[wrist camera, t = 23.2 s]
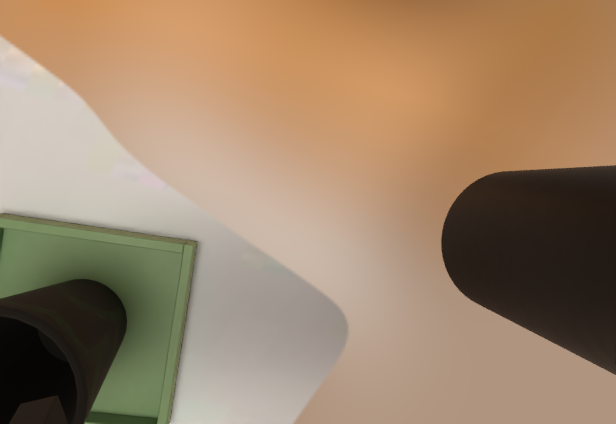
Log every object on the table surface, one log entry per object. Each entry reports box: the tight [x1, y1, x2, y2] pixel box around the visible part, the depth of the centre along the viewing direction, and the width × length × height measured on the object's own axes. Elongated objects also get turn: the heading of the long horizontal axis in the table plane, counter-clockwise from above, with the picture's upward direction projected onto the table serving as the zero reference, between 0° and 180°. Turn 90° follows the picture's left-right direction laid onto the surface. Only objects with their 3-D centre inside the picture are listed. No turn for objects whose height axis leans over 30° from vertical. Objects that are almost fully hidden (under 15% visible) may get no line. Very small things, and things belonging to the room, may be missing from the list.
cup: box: [0, 279, 127, 424], centre depth 27 cm, size 8×8×12 cm
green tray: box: [0, 214, 197, 424], centre depth 32 cm, size 12×12×2 cm
